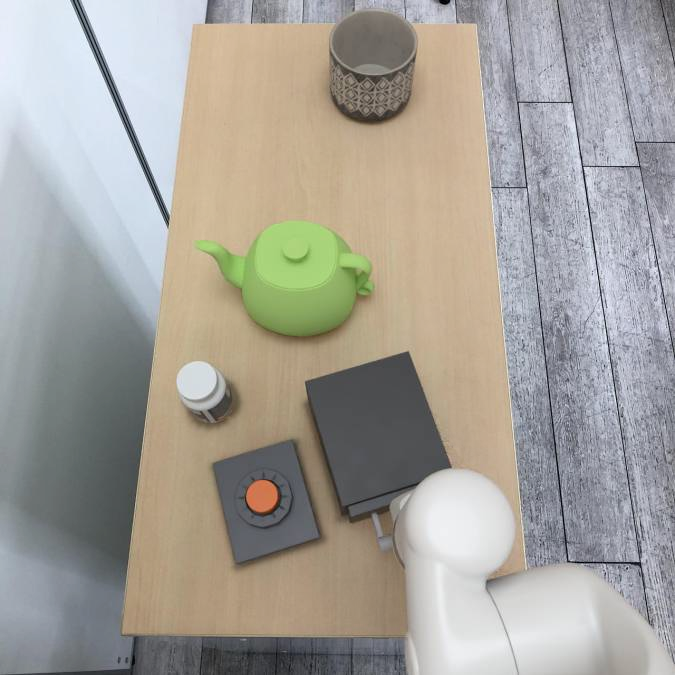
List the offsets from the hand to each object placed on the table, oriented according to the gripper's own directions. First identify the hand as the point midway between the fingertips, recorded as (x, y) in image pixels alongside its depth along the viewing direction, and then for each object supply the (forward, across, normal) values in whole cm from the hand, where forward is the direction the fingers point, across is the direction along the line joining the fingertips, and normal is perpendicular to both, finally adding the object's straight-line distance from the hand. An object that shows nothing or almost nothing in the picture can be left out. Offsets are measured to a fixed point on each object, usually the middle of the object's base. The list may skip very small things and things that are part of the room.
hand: (414, 553), depth 69 cm
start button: (+1, +11, +15) cm, 18 cm away
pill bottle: (+5, +25, +18) cm, 31 cm away
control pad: (+5, +11, +14) cm, 19 cm away
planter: (+4, +67, -17) cm, 69 cm away
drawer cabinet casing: (+5, +14, 0) cm, 15 cm away
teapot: (+5, +37, +4) cm, 37 cm away
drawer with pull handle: (+4, +10, 0) cm, 11 cm away
